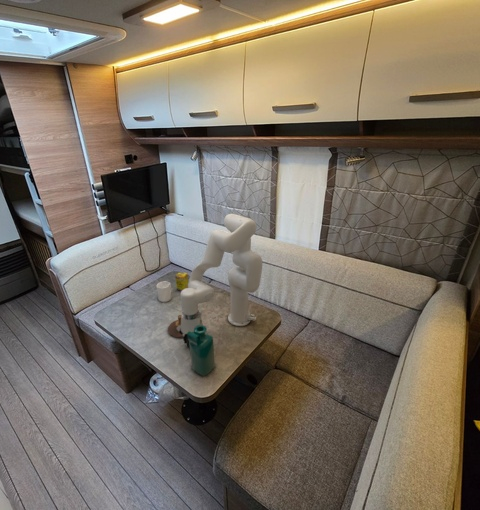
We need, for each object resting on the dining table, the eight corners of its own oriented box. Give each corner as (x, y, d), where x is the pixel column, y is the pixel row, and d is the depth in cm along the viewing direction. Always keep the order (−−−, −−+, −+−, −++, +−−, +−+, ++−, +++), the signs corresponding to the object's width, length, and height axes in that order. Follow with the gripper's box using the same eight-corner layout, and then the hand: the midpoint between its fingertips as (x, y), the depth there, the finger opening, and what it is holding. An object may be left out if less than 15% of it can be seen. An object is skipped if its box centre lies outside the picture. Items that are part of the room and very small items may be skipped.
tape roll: (202, 339, 139) (202, 333, 137) (197, 349, 133) (196, 343, 131) (189, 337, 141) (188, 330, 139) (183, 346, 135) (183, 340, 133)
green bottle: (202, 357, 130) (199, 319, 121) (216, 365, 125) (214, 326, 116) (188, 370, 124) (183, 331, 114) (202, 379, 119) (198, 339, 109)
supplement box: (176, 290, 185) (175, 275, 181) (180, 285, 190) (179, 271, 186) (184, 291, 183) (183, 277, 179) (188, 287, 188) (187, 273, 184)
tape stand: (198, 323, 153) (197, 310, 150) (188, 340, 141) (187, 327, 138) (175, 319, 158) (173, 306, 154) (163, 335, 146) (161, 322, 142)
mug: (166, 291, 185) (164, 277, 181) (177, 293, 182) (175, 279, 177) (155, 300, 175) (153, 286, 171) (166, 303, 172) (164, 289, 168)
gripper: (210, 311, 130) (212, 341, 137) (176, 306, 135) (180, 335, 143) (205, 321, 124) (207, 352, 131) (170, 315, 129) (174, 345, 136)
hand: (193, 343), depth 137 cm, fingers closed on tape roll, 7 cm apart
